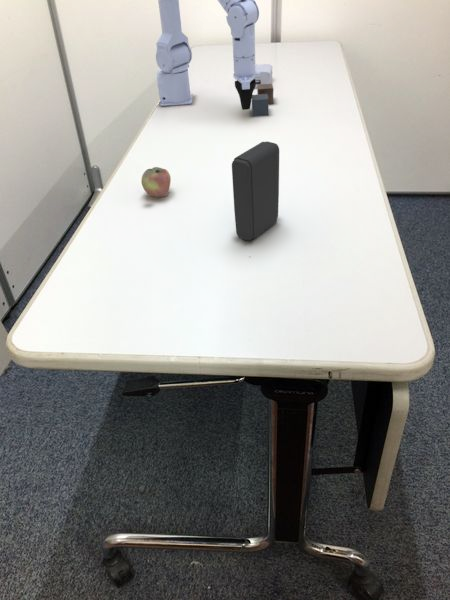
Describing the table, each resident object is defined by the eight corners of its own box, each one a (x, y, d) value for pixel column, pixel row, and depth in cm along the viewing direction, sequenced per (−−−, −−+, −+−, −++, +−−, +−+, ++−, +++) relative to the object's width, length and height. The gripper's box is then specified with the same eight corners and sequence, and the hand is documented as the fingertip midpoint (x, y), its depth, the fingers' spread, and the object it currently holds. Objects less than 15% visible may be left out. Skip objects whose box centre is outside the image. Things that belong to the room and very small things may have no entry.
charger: (273, 74, 157) (270, 87, 146) (246, 74, 159) (241, 88, 148) (273, 58, 154) (270, 71, 143) (245, 59, 156) (241, 72, 145)
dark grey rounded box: (263, 215, 88) (262, 137, 79) (280, 221, 86) (282, 142, 77) (233, 237, 83) (228, 157, 74) (251, 244, 81) (248, 163, 71)
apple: (140, 205, 94) (135, 178, 90) (147, 187, 100) (142, 161, 96) (169, 204, 94) (165, 177, 90) (174, 186, 100) (171, 160, 96)
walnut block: (258, 105, 135) (257, 89, 132) (257, 100, 138) (257, 84, 136) (273, 104, 135) (273, 88, 132) (272, 99, 138) (272, 83, 135)
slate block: (252, 116, 128) (252, 100, 126) (251, 110, 132) (251, 94, 129) (268, 115, 128) (268, 99, 125) (267, 110, 132) (267, 93, 129)
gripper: (261, 61, 115) (261, 117, 123) (258, 47, 126) (258, 99, 134) (232, 63, 115) (235, 118, 124) (232, 49, 126) (234, 100, 135)
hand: (246, 108), depth 129 cm, fingers closed, pressing on slate block
